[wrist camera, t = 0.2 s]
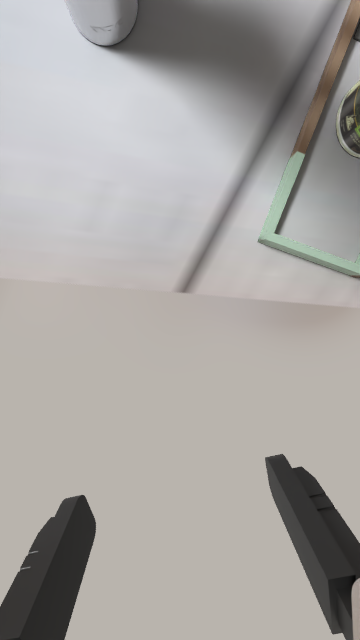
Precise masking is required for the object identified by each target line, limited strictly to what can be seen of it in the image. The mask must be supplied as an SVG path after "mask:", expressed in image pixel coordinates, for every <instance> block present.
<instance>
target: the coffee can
mask: <svg viewBox="0 0 360 640" xmlns="http://www.w3.org/2000/svg"><path fill="white" fill-rule="evenodd" d="M336 131H337V136H338V139H339V142H340V144H341V145H342V147H343V148H344V149H345V150H346V151H347V152H348V153H349V154H351V155H352V156H355V157H358V158H360V81H359V82H358V83H357V84H355V85H354V86H353V87H352V88H351V89H350V90H349V91H348V93H347V94H346V95H345V97H344V99H343V100H342V102H341V104H340V107H339V110H338V114H337V119H336Z"/></svg>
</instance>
